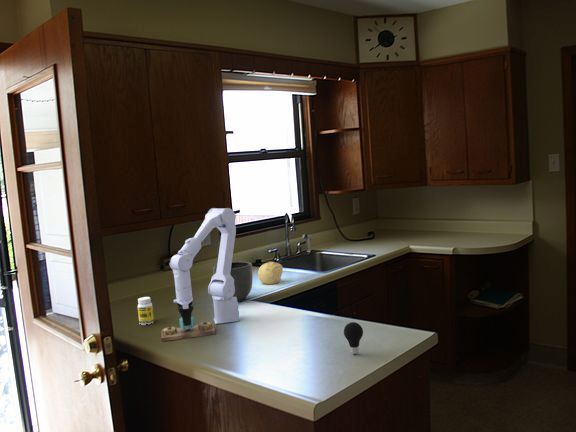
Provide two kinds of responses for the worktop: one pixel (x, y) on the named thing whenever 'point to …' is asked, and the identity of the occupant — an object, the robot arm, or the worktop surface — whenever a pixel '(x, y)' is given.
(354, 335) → the light bulb
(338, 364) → the worktop surface
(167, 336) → the gear board
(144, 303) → the supplement bottle
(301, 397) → the worktop surface
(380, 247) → the worktop surface
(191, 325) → the teal gear
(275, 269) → the pale yellow round lump
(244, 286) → the planter
